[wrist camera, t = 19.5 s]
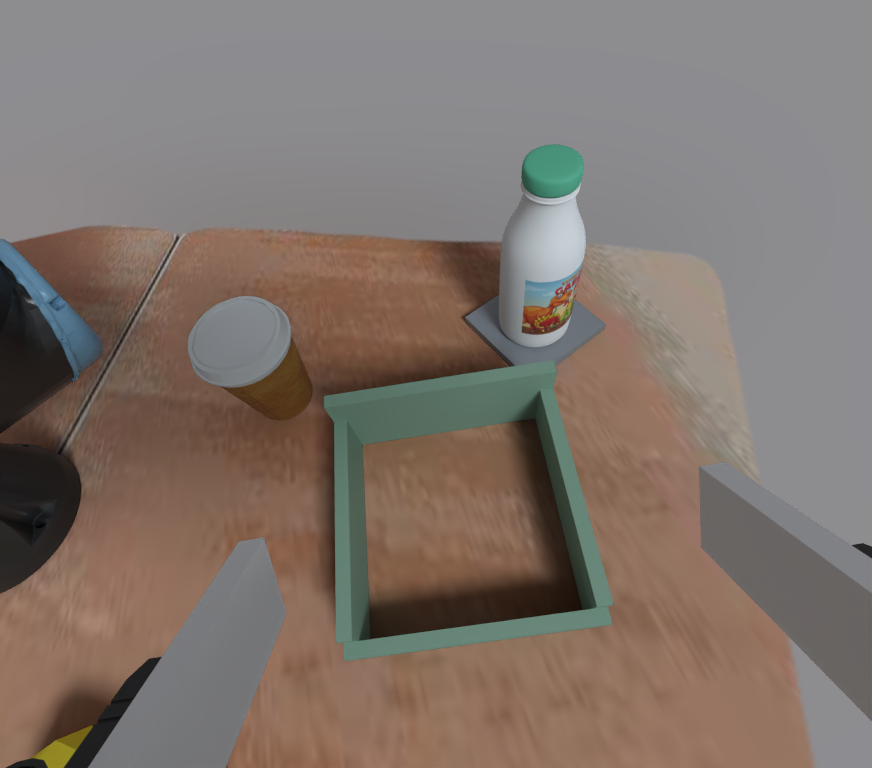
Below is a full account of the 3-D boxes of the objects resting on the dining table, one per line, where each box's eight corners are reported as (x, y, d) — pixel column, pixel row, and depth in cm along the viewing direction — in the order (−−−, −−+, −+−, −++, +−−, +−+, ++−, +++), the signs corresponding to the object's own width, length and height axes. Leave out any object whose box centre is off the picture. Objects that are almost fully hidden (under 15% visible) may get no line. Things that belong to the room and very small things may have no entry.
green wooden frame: (601, 626, 38) (629, 621, 30) (357, 659, 39) (322, 662, 31) (544, 406, 48) (553, 360, 40) (351, 435, 49) (323, 395, 41)
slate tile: (465, 322, 55) (465, 317, 54) (535, 274, 57) (536, 268, 56) (529, 385, 50) (530, 380, 49) (603, 329, 52) (605, 324, 51)
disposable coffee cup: (276, 349, 56) (226, 280, 45) (342, 375, 53) (305, 309, 42) (227, 415, 52) (160, 357, 42) (295, 447, 49) (242, 394, 39)
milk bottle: (492, 344, 51) (493, 191, 34) (505, 291, 55) (510, 127, 38) (564, 355, 50) (602, 199, 33) (572, 299, 53) (610, 131, 36)
